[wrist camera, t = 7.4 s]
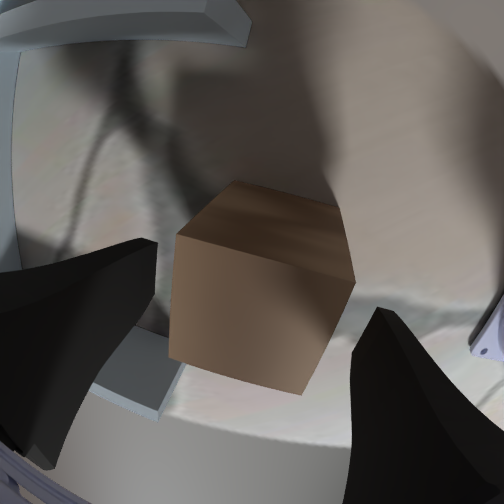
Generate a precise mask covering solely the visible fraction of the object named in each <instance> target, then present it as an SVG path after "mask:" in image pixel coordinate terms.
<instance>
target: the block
mask: <svg viewBox="0 0 504 504" xmlns="http://www.w3.org/2000/svg"><path fill="white" fill-rule="evenodd" d="M355 283H356V281H355V276H354V271H353V266H352V261H351V256H350V251H349V247H348V242H347V238H346V233H345V229H344V225H343V220H342V216H341V212H340V208H338V207H335V206H332V205H328V204H325V203H321V202H317V201H314V200H310V199H307V198H303V197H299V196H295V195H292V194H288V193H284V192H280V191H276V190H272V189H269V188H265V187H261V186H256V185H252V184H248V183H244V182H240V181H236V180H234V181H233V182H232V183H231V184H229V185H228V186H227V187H226V188H225V189H224V190H223V191H222V192H221V193H219V194H218V195H217V196H216V197H215V198H214V199H213V200H212V201H211V202H210V203H209V204H208V205H206V206H205V207H204V208H203V209H202V210H201V211H200V212H199V213H198V214H197V215H196V216H195V217H194V218H193V219H191V220H190V221H189V222H188V223H187V224H186V225H185V226H184V227H183V228H182V229H181V230H180V231H179V232H178V233H177V234H176V243H175V254H174V265H173V278H172V293H171V309H170V329H169V356H168V357H169V358H171V359H174V360H177V361H180V362H183V363H186V364H189V365H192V366H195V367H198V368H201V369H204V370H207V371H211V372H214V373H217V374H220V375H224V376H227V377H230V378H234V379H237V380H241V381H245V382H248V383H252V384H256V385H260V386H264V387H267V388H271V389H276V390H280V391H284V392H288V393H293V394H297V395H302V393H303V392H304V390H305V388H306V386H307V384H308V382H309V380H310V378H311V377H312V375H313V373H314V371H315V369H316V367H317V365H318V363H319V361H320V359H321V357H322V355H323V353H324V351H325V349H326V347H327V345H328V343H329V341H330V339H331V337H332V335H333V332H334V330H335V328H336V326H337V324H338V322H339V320H340V317H341V315H342V313H343V311H344V309H345V306H346V304H347V302H348V299H349V297H350V295H351V293H352V290H353V288H354V286H355Z"/></svg>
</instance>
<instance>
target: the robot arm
mask: <svg viewBox="0 0 504 504" xmlns="http://www.w3.org/2000/svg"><path fill="white" fill-rule="evenodd" d="M157 247H158V243H157V242H154V241H151V240H148V239H144V238H137V239H133V240H129V241H126V242H122V243H119V244H116V245H113V246H110V247H107V248H104V249H101V250H97V251H94V252H91V253H88V254H85V255H81V256H78V257H75V258H71V259H68V260H64V261H61V262H57V263H53V264H49V265H45V266H40V267H35V268H30V269H24V270H16V271H9V272H1V273H0V504H32V503H31V502H29V501H28V500H27V499H25V498H24V497H22V496H21V494H20V492H19V486H18V484H20V485H21V486H22V487H24V488H25V489H26V490H27V491H29V492H30V493H32V494H33V495H34V496H36V497H37V498H39V499H40V500H41V501H43V502H44V503H46V504H91V503H89V502H87V501H86V500H84V499H82V498H80V497H78V496H77V495H75V494H73V493H72V492H70V491H68V490H67V489H65V488H63V487H62V486H60V485H59V484H57V483H56V482H54V481H53V480H51V479H49V478H48V477H47V476H45V475H44V474H42V473H40V472H39V471H38V470H36V469H35V468H34V467H32V466H31V465H30V464H28V463H27V462H26V461H24V460H23V459H21V458H20V457H19V456H18V455H17V454H15V453H14V452H13V451H14V450H15V451H16V452H17V453H19V454H20V455H21V456H23V457H26V458H28V459H29V460H30V461H32V462H33V463H35V464H36V465H37V466H39V467H40V468H42V469H43V470H52V469H55V467H56V463H57V460H58V457H59V455H60V452H61V449H62V447H63V444H64V441H65V439H66V436H67V434H68V431H69V429H70V427H71V425H72V423H73V420H74V418H75V416H76V414H77V411H78V410H79V408H80V406H81V404H82V402H83V400H84V398H85V396H86V394H87V392H88V391H89V389H90V387H91V385H92V383H93V382H94V380H95V378H96V377H97V375H98V373H99V371H100V370H101V368H102V367H103V366H104V364H105V363H106V361H107V360H108V359H109V357H110V356H111V355H112V354H113V352H114V351H115V350H116V348H117V347H118V346H119V345H120V343H121V342H122V341H123V339H124V338H125V337H126V336H127V334H128V333H129V332H130V331H131V329H132V328H133V327H134V325H135V324H136V323H137V322H138V320H139V319H140V318H141V316H142V315H143V313H144V311H145V310H146V308H147V306H148V305H149V303H150V301H151V299H152V298H153V296H154V294H155V276H156V260H157ZM470 352H471V354H472V356H476V357H481V358H486V359H492V360H497V361H503V362H504V295H503V296H502V298H501V300H500V301H499V303H498V305H497V307H496V308H495V310H494V311H493V313H492V315H491V316H490V318H489V319H488V321H487V323H486V324H485V326H484V327H483V329H482V330H481V332H480V333H479V335H478V336H477V338H476V339H475V341H474V342H473V343H472V345H471V347H470ZM350 395H351V420H352V447H351V457H350V465H349V473H348V478H347V484H346V489H345V494H344V499H343V503H342V504H504V431H503V430H502V429H500V428H499V427H498V426H497V425H495V424H494V423H493V422H492V421H491V420H489V419H488V418H487V417H486V416H485V415H484V414H483V413H482V412H481V411H479V410H478V409H477V408H476V407H475V406H474V405H473V404H472V403H471V402H470V401H469V400H468V399H467V398H466V397H465V396H464V395H463V394H462V393H461V392H460V391H459V390H458V389H457V388H456V386H455V385H454V384H453V383H452V382H451V381H450V380H449V379H448V377H447V376H446V375H445V374H444V372H443V371H442V370H441V369H440V368H439V366H438V365H437V364H436V363H435V362H434V360H433V359H432V358H431V357H430V355H429V354H428V353H427V351H426V350H425V349H424V347H423V346H422V345H421V344H420V342H419V341H418V340H417V338H416V337H415V336H414V334H413V333H412V332H411V331H410V329H409V328H408V327H407V326H406V324H405V323H404V322H403V321H402V319H401V318H400V317H399V316H398V315H397V314H396V313H395V312H394V311H391V310H388V309H384V308H380V307H377V308H376V310H375V312H374V314H373V315H372V317H371V319H370V321H369V323H368V325H367V327H366V328H365V330H364V332H363V334H362V336H361V337H360V339H359V341H358V343H357V344H356V346H355V348H354V350H353V351H352V358H351V369H350ZM17 483H18V484H17Z"/></svg>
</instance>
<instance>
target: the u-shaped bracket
mask: <svg viewBox="0 0 504 504" xmlns="http://www.w3.org/2000/svg"><path fill="white" fill-rule="evenodd" d="M251 25H252V21H251V19H250V18H249V17H248V15H247V14H246V13H245V11H244V10H243V9H242V7H241V6H240V5H239V4H238V2H237V1H236V0H36V1H33V2H30V3H27V4H25V5H22V6H19V7H17V8H14V9H12V10H9V11H7V12H4V13H2V14H0V273H1V272H9V271H16V270H22V266H21V260H20V254H19V248H18V242H17V234H16V226H15V218H14V207H13V194H12V174H11V134H12V115H13V102H14V92H15V84H16V76H17V69H18V63H19V57H20V52H23V51H28V50H33V49H38V48H44V47H50V46H57V45H65V44H73V43H83V42H94V41H110V40H175V41H191V42H203V43H213V44H222V45H230V46H238V47H244V48H246V45H247V41H248V37H249V33H250V29H251ZM168 356H169V338H167V337H164V336H161V335H158V334H156V333H153V332H150V331H148V330H145V329H143V328H140V327H137V326H135V325H134V327H133V328H132V329H131V331H130V332H129V333H128V334H127V336H126V337H125V338H124V339H123V341H122V342H121V343H120V345H119V346H118V347H117V348H116V350H115V351H114V352H113V354H112V355H111V356H110V357H109V359H108V360H107V361H106V363H105V364H104V366H103V367H102V368H101V370H100V371H99V373H98V375H97V377H96V378H95V380H94V382H93V383H92V385H91V387H90V389H89V391H90V392H92V393H94V394H96V395H98V396H100V397H102V398H104V399H106V400H108V401H110V402H112V403H114V404H116V405H118V406H121V407H123V408H125V409H127V410H129V411H132V412H134V413H136V414H139V415H141V416H143V417H146V418H148V419H151V420H153V421H156V422H159V419H160V417H161V415H162V413H163V411H164V409H165V407H166V405H167V403H168V401H169V399H170V397H171V395H172V393H173V391H174V389H175V387H176V385H177V383H178V380H179V378H180V376H181V374H182V372H183V370H184V368H185V366H186V363H183V362H180V361H177V360H174V359H171V358H169V357H168Z"/></svg>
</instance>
